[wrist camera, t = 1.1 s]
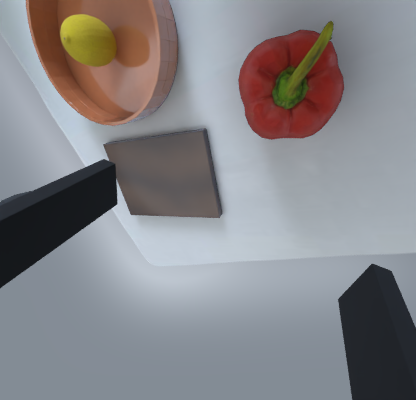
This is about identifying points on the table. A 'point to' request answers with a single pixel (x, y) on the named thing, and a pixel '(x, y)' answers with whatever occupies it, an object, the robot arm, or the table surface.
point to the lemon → (88, 40)
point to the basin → (121, 64)
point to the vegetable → (291, 84)
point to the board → (167, 175)
